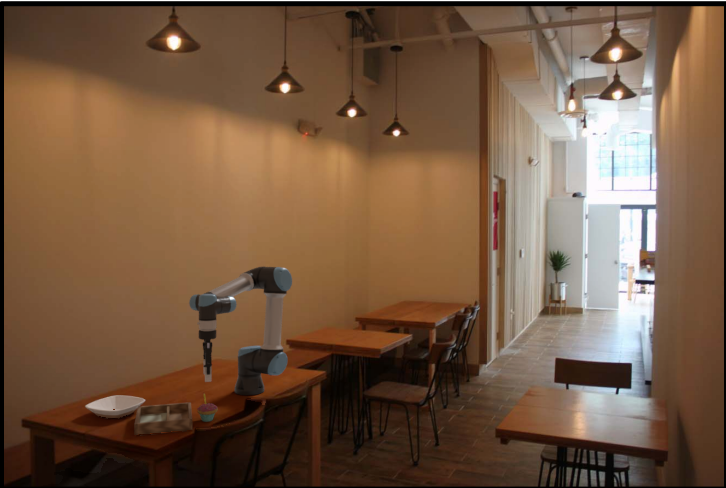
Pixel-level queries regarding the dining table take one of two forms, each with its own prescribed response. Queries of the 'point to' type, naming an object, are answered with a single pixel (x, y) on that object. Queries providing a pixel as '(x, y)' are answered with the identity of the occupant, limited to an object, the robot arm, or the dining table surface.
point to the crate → (163, 418)
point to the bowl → (115, 406)
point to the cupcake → (207, 411)
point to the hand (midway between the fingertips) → (207, 377)
